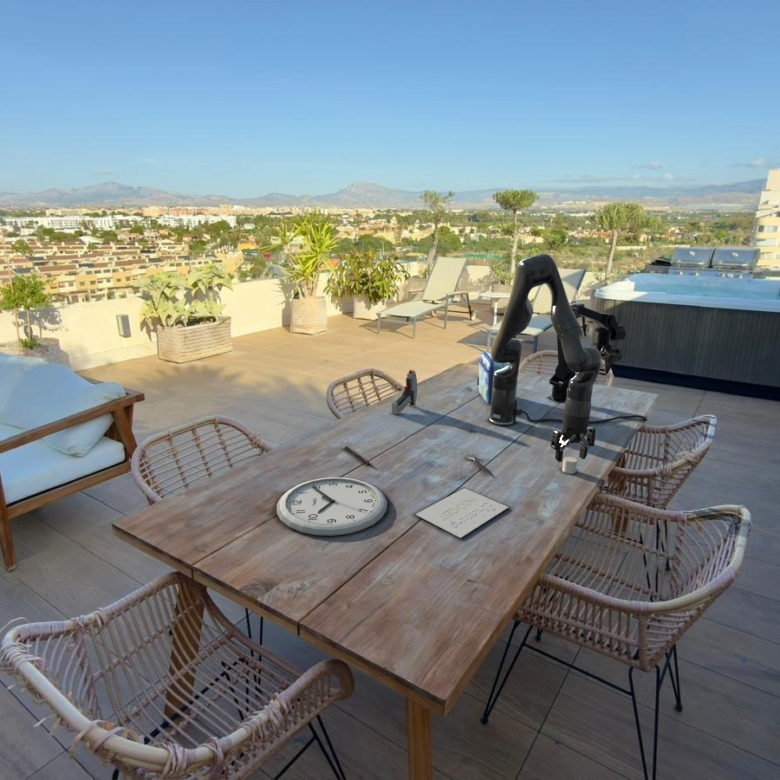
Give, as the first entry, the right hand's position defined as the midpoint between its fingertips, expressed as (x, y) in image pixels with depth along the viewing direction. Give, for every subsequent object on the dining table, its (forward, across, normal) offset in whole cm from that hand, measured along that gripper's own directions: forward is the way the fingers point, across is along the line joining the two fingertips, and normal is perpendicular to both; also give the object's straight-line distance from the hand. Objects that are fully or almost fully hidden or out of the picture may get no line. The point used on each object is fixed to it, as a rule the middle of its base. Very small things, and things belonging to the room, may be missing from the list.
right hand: (598, 374), depth 241 cm
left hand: (+6, -65, -62) cm, 90 cm away
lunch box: (+10, -51, +8) cm, 53 cm away
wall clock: (+10, -142, -59) cm, 154 cm away
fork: (+10, -91, -49) cm, 104 cm away
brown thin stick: (+10, -126, -31) cm, 130 cm away
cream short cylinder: (+10, -66, -63) cm, 91 cm away
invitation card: (+10, -109, -74) cm, 132 cm away
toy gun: (+10, -94, +7) cm, 94 cm away
